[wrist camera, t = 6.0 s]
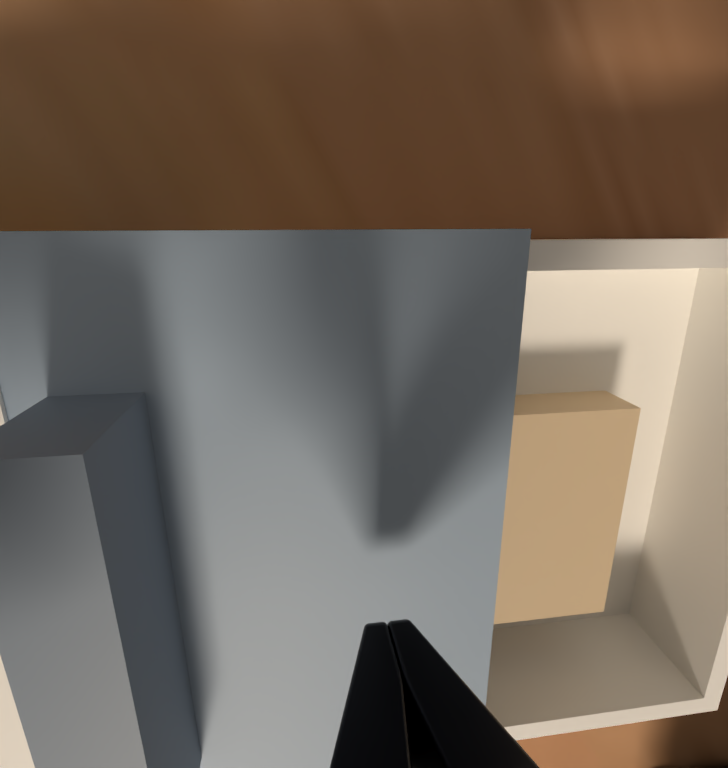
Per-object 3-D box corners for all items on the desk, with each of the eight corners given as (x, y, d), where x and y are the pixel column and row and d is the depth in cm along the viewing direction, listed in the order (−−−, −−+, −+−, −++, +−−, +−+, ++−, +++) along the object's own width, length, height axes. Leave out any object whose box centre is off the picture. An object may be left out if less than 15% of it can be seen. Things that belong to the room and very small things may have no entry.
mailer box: (630, 612, 18) (717, 710, 14) (238, 658, 16) (219, 784, 13) (706, 238, 14) (856, 237, 10) (191, 241, 12) (143, 243, 8)
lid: (468, 764, 13) (518, 920, 10) (-144, 858, 11) (-306, 1084, 8) (514, 229, 9) (625, 224, 6) (-462, 234, 7) (-1045, 230, 4)
